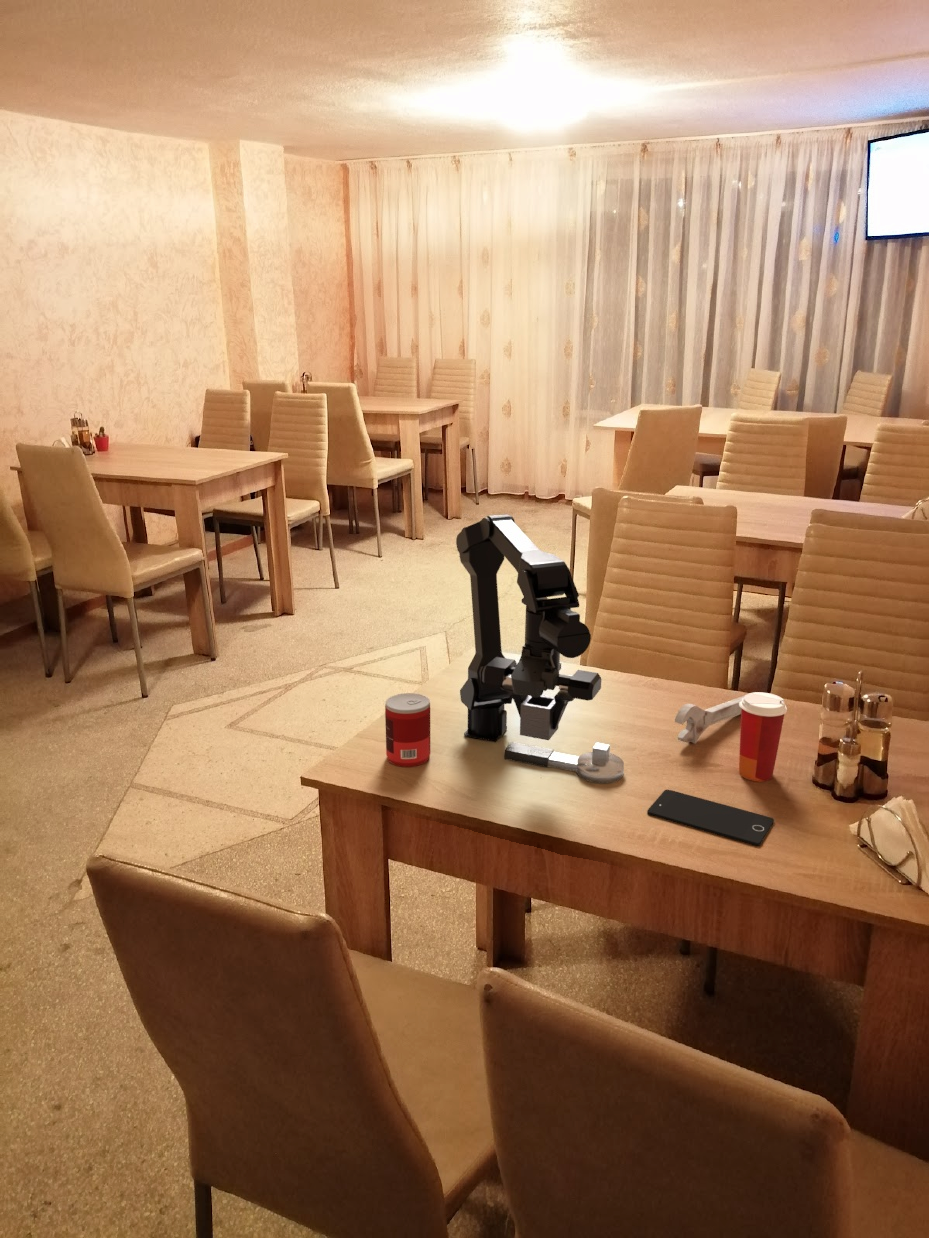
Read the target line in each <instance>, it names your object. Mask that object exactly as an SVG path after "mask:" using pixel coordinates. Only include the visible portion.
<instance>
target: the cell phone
mask: <svg viewBox="0 0 929 1238" xmlns="http://www.w3.org/2000/svg"><path fill="white" fill-rule="evenodd" d="M646 814H647V815H648V816H651V817H654V818H658V819H661V820H664V821H668V822H672V823H676V824H677V825H683V826H686V827H689V828H691V829H695V830H699V831H702V832H706V833H708V834H712V835H716V836H719V837H723V838H727V839H730V840H732V841H736V842H740V843H743V844H747V845H750V846H752V847H753V846H754V847H757V848H758V847H760V846H761V845H762V843H763V842H764V840H765V839H766V837H767V835H768V834H769V832H770V830H771V828H772V826H773V825H774V823H775V822H774V820H775V819H774V818H773V817H771V816H767V815H764V814H761V813H760V814H759V813H757V812H752V811H748V810H746V809H741V808H738V807H735V806H734V807H733V806H730V805H727V804H723V803H720V802H715V801H711V800H708V799H705V798H702V797H698V796H694V795H691V794H686V793H684V792H679V791H675V790H671V789H665V790H664V791H662V793H661V794H660V795H659V796H658V797H657V798H656V800H655V801H653V804H651V805H650V806H649V808H648V809H647V813H646Z"/></svg>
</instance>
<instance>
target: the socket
mask: <svg viewBox="0 0 929 1238" xmlns="http://www.w3.org/2000/svg"><path fill="white" fill-rule="evenodd" d="M554 710H555V699H554V696H549V695H546V694H545V695H543V694H542V695H541V696H540V697H536V698H535V697H531V696H529V695H528V697H527V698H526V699H525V700H524V701H523V702H522V703H521V712H520V716H519V718H520V720H519V723H520V724H519V735H520V736H524V737H528V738H534V739H538V740H539V739H540V740H545V741H550V740H551V738H552V737H553V736H554V734H556V732H557V730H559V724H560V723H559V724H558V727H557V728H556V730H554V729H553V717H554Z"/></svg>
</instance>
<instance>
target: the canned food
mask: <svg viewBox="0 0 929 1238" xmlns="http://www.w3.org/2000/svg"><path fill="white" fill-rule="evenodd" d="M430 700H431V699H430V698H429V697H427V696H426V695H423V694H420V693H416V692H415V693H414V692H413V693H412V692H407V693H398V694H394V695H392V696H390V697H388V698H387V699H386V700H385V703H384V704H385V706H384V707H385V708H384V713H385V715H384V716H385V717H384V718H385V722H384V723H385V751H386V753H385V754H386V757H387V760H388V762H389V763H390V764H392V765H394V766H397V767H402V768H403V767H404V768H411V767H412V768H413V767H416V766H420V765H421V766H422V765H423V764H425V763H426V762H427V761H428V760H429V759H430V756H431V701H430Z"/></svg>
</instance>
